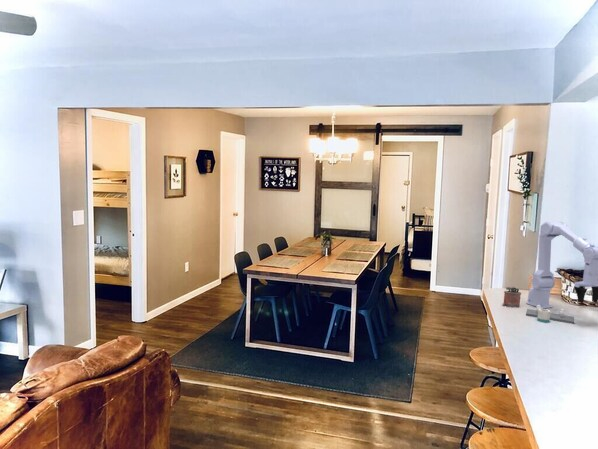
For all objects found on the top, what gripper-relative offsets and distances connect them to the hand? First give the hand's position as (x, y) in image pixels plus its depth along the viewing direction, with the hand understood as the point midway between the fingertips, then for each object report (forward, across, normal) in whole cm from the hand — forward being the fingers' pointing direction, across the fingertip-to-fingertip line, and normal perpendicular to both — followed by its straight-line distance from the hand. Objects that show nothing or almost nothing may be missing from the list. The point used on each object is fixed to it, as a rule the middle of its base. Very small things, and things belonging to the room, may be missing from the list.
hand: (587, 302), depth 214 cm
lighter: (+10, -18, +27) cm, 34 cm away
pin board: (+10, -11, +9) cm, 17 cm away
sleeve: (+10, -18, +5) cm, 21 cm away
